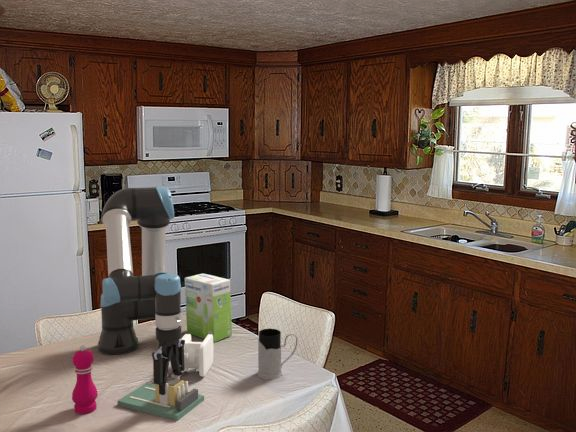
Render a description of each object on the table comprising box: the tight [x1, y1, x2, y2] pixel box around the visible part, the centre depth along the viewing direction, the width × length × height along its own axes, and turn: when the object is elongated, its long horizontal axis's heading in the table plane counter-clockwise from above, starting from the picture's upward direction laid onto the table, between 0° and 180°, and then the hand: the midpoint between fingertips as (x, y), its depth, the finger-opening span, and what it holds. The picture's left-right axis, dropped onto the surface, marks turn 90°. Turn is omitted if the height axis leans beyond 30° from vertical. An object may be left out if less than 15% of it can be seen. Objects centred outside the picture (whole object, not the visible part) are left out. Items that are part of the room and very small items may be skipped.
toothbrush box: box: [184, 273, 233, 343], centre depth 228 cm, size 18×10×24 cm, turn 49°
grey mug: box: [256, 328, 298, 380], centre depth 192 cm, size 9×14×15 cm, turn 104°
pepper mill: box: [71, 345, 98, 415], centre depth 165 cm, size 7×7×20 cm
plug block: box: [155, 376, 185, 406], centre depth 168 cm, size 7×5×6 cm
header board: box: [117, 380, 205, 422], centre depth 170 cm, size 22×14×8 cm, turn 66°
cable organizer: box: [180, 333, 214, 378], centre depth 193 cm, size 15×11×12 cm
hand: (170, 399), depth 169 cm, fingers closed on plug block, 5 cm apart
